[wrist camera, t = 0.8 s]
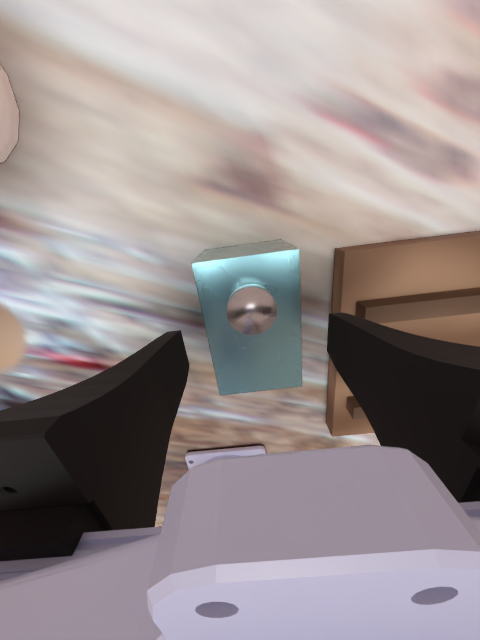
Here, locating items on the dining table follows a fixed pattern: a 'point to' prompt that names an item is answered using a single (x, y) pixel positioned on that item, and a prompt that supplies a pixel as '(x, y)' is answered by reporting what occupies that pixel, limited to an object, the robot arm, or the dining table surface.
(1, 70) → the foam cup
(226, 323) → the block
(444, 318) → the stand
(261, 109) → the dining table surface
